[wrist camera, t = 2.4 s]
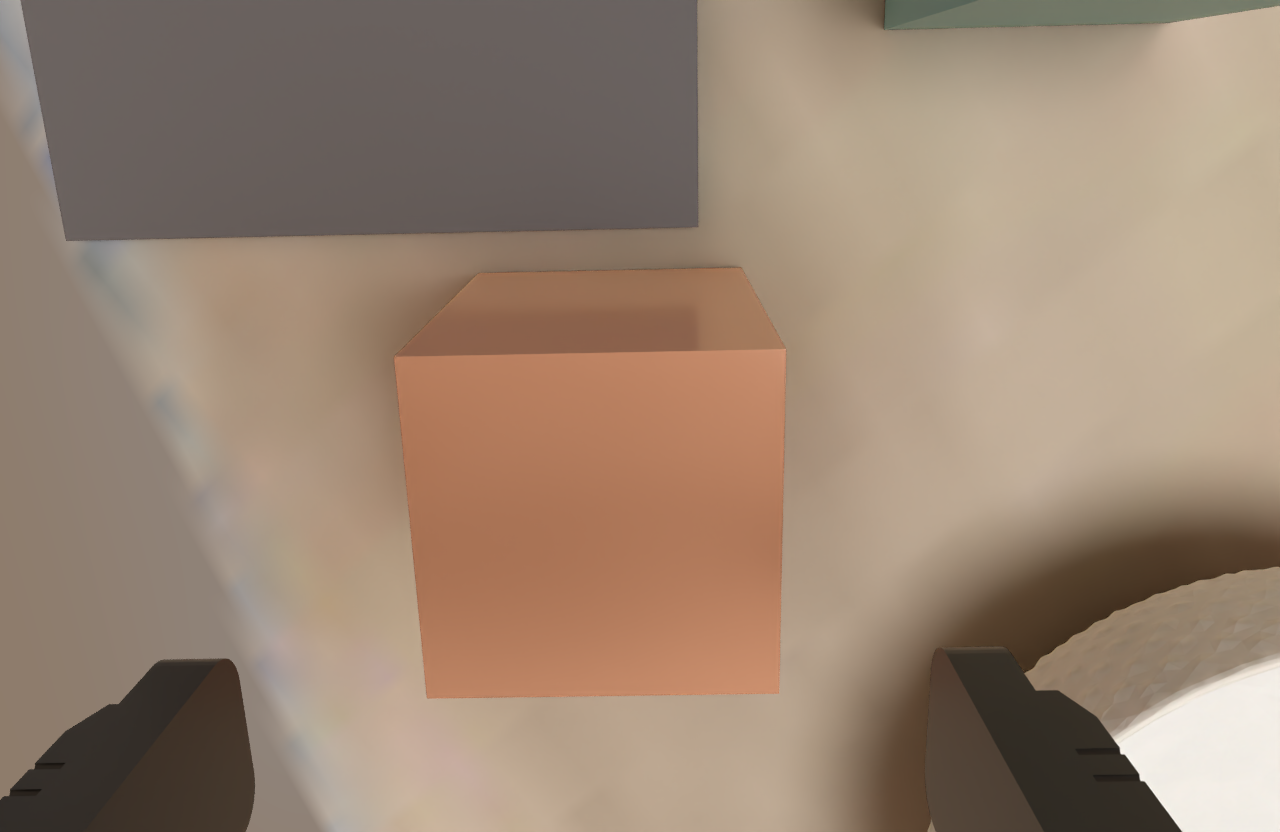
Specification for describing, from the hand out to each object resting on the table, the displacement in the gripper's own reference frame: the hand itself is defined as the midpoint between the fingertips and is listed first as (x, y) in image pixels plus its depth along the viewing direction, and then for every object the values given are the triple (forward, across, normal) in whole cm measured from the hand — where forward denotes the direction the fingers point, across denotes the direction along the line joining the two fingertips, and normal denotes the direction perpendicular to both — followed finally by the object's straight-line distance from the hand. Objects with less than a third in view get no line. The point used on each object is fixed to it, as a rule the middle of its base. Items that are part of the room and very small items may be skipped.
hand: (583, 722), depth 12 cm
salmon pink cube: (+13, 0, 0) cm, 13 cm away
